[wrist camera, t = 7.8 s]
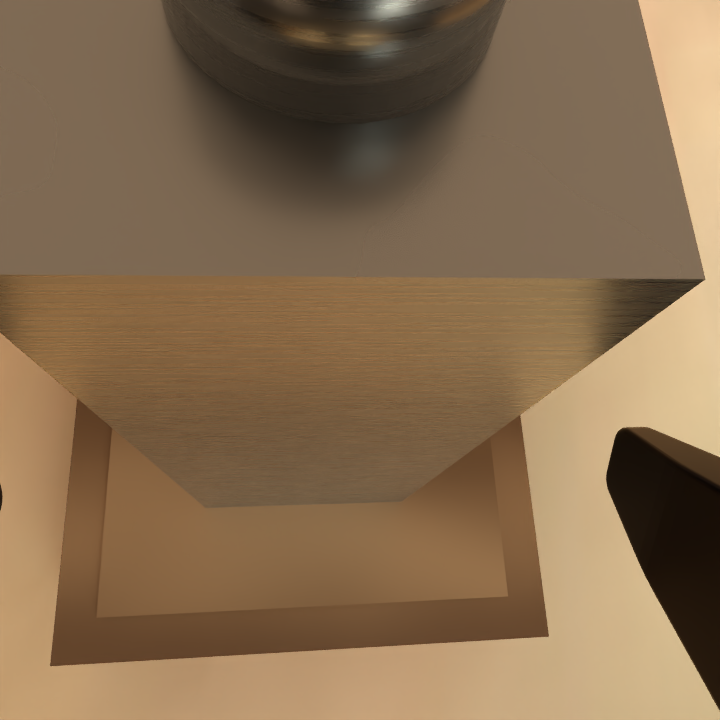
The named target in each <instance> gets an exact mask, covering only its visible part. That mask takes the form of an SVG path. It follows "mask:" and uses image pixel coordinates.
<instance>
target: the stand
mask: <svg viewBox="0 0 720 720" xmlns="http://www.w3.org/2000/svg"><path fill="white" fill-rule="evenodd" d="M548 636H549V634H548V627H547V619H546V611H545V604H544V596H543V588H542V580H541V573H540V565H539V557H538V550H537V542H536V534H535V526H534V519H533V511H532V503H531V496H530V488H529V480H528V472H527V465H526V457H525V449H524V442H523V434H522V426H521V418H520V415H519V416H518V417H516V418H515V419H514V420H512V421H511V422H510V423H508V424H507V425H506V426H504V427H503V428H501V429H500V430H499V431H497V432H496V433H495V434H493V435H492V436H490V437H489V438H488V439H486V440H485V441H484V442H482V443H481V444H480V445H478V446H477V447H475V448H474V449H473V450H471V451H470V452H469V453H467V454H466V455H465V456H463V457H462V458H460V459H459V460H458V461H456V462H455V463H454V464H452V465H451V466H450V467H448V468H447V469H445V470H444V471H443V472H441V473H440V474H439V475H437V476H436V477H435V478H433V479H432V480H430V481H429V482H428V483H426V484H425V485H424V486H422V487H421V488H419V489H418V490H417V491H415V492H414V493H413V494H411V495H410V496H409V497H407V498H406V499H404V500H403V501H402V502H376V503H345V504H314V505H283V506H252V507H220V508H205V507H204V506H203V505H201V504H200V503H199V502H198V501H197V500H196V499H194V498H193V497H192V496H191V495H190V494H189V493H187V492H186V491H185V490H184V489H183V488H182V487H180V486H179V485H178V484H177V483H176V482H175V481H173V480H172V479H171V478H170V477H169V476H168V475H166V474H165V473H164V472H163V471H162V470H161V469H159V468H158V467H157V466H156V465H155V464H154V463H152V462H151V461H150V460H149V459H148V458H147V457H145V456H144V455H143V454H142V453H141V452H140V451H138V450H137V449H136V448H135V447H134V446H132V445H131V444H130V443H129V442H128V441H127V440H125V439H124V438H123V437H122V436H121V435H120V434H118V433H117V432H116V431H115V430H114V429H113V428H111V427H110V426H109V425H108V424H107V423H106V422H104V421H103V420H102V419H101V418H100V417H99V416H97V415H96V414H95V413H94V412H93V411H92V410H90V409H89V408H88V407H87V406H86V405H85V404H83V403H82V402H81V401H80V400H79V399H77V408H76V418H75V428H74V438H73V448H72V457H71V467H70V477H69V487H68V497H67V506H66V516H65V526H64V536H63V546H62V555H61V565H60V575H59V585H58V595H57V605H56V614H55V624H54V634H53V644H52V654H51V663H50V666H61V665H77V664H94V663H111V662H128V661H145V660H161V659H178V658H195V657H212V656H229V655H246V654H262V653H279V652H296V651H313V650H330V649H346V648H363V647H380V646H397V645H414V644H431V643H447V642H464V641H481V640H498V639H515V638H531V637H548Z"/></svg>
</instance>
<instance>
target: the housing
mask: <svg viewBox="0 0 720 720" xmlns="http://www.w3.org/2000/svg"><path fill="white" fill-rule="evenodd" d="M704 280H705V276H704V272H703V268H702V263H701V259H700V255H699V251H698V247H697V243H696V239H695V234H694V230H693V226H692V222H691V218H690V214H689V210H688V205H687V201H686V197H685V193H684V189H683V185H682V180H681V176H680V172H679V168H678V164H677V160H676V156H675V151H674V147H673V143H672V139H671V135H670V131H669V127H668V122H667V118H666V114H665V110H664V106H663V102H662V97H661V93H660V89H659V85H658V81H657V77H656V73H655V68H654V64H653V60H652V56H651V52H650V48H649V44H648V39H647V35H646V31H645V27H644V23H643V19H642V14H641V10H640V6H639V2H638V0H0V333H1V334H3V335H4V336H5V337H6V338H7V339H9V340H10V341H11V342H12V343H13V344H14V345H16V346H17V347H18V348H19V349H20V350H21V351H23V352H24V353H25V354H26V355H27V356H28V357H30V358H31V359H32V360H33V361H34V362H35V363H37V364H38V365H39V366H40V367H41V368H42V369H44V370H45V371H46V372H47V373H48V374H49V375H51V376H52V377H53V378H54V379H55V380H56V381H58V382H59V383H60V384H61V385H62V386H63V387H65V388H66V389H67V390H68V391H69V392H70V393H72V394H73V395H74V396H75V397H76V398H78V399H79V400H80V401H81V402H82V403H83V404H85V405H86V406H87V407H88V408H89V409H90V410H92V411H93V412H94V413H95V414H96V415H97V416H99V417H100V418H101V419H102V420H103V421H104V422H106V423H107V424H108V425H109V426H110V427H111V428H113V429H114V430H115V431H116V432H117V433H118V434H120V435H121V436H122V437H123V438H124V439H125V440H127V441H128V442H129V443H130V444H131V445H132V446H134V447H135V448H136V449H137V450H138V451H140V452H141V453H142V454H143V455H144V456H145V457H147V458H148V459H149V460H150V461H151V462H152V463H154V464H155V465H156V466H157V467H158V468H159V469H161V470H162V471H163V472H164V473H165V474H166V475H168V476H169V477H170V478H171V479H172V480H173V481H175V482H176V483H177V484H178V485H179V486H180V487H182V488H183V489H184V490H185V491H186V492H187V493H189V494H190V495H191V496H192V497H193V498H194V499H196V500H197V501H198V502H199V503H200V504H201V505H203V506H204V507H205V508H220V507H252V506H283V505H314V504H345V503H376V502H402V501H403V500H404V499H406V498H407V497H409V496H410V495H411V494H413V493H414V492H415V491H417V490H418V489H419V488H421V487H422V486H424V485H425V484H426V483H428V482H429V481H430V480H432V479H433V478H435V477H436V476H437V475H439V474H440V473H441V472H443V471H444V470H445V469H447V468H448V467H450V466H451V465H452V464H454V463H455V462H456V461H458V460H459V459H460V458H462V457H463V456H465V455H466V454H467V453H469V452H470V451H471V450H473V449H474V448H475V447H477V446H478V445H480V444H481V443H482V442H484V441H485V440H486V439H488V438H489V437H490V436H492V435H493V434H495V433H496V432H497V431H499V430H500V429H501V428H503V427H504V426H506V425H507V424H508V423H510V422H511V421H512V420H514V419H515V418H516V417H518V416H519V415H521V414H522V413H523V412H525V411H526V410H527V409H529V408H530V407H531V406H533V405H534V404H536V403H537V402H538V401H540V400H541V399H542V398H544V397H545V396H546V395H548V394H549V393H551V392H552V391H553V390H555V389H556V388H557V387H559V386H560V385H561V384H563V383H564V382H566V381H567V380H568V379H570V378H571V377H572V376H574V375H575V374H577V373H578V372H579V371H581V370H582V369H583V368H585V367H586V366H587V365H589V364H590V363H592V362H593V361H594V360H596V359H597V358H598V357H600V356H601V355H602V354H604V353H605V352H607V351H608V350H609V349H611V348H612V347H613V346H615V345H616V344H617V343H619V342H620V341H622V340H623V339H624V338H626V337H627V336H628V335H630V334H631V333H633V332H634V331H635V330H637V329H638V328H639V327H641V326H642V325H643V324H645V323H646V322H648V321H649V320H650V319H652V318H653V317H654V316H656V315H657V314H658V313H660V312H661V311H663V310H664V309H665V308H667V307H668V306H669V305H671V304H672V303H673V302H675V301H676V300H678V299H679V298H680V297H682V296H683V295H684V294H686V293H687V292H688V291H690V290H691V289H693V288H694V287H695V286H697V285H698V284H699V283H701V282H702V281H704Z"/></svg>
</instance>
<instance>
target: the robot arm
mask: <svg viewBox="0 0 720 720" xmlns="http://www.w3.org/2000/svg"><path fill="white" fill-rule="evenodd" d="M606 481H607V487H608V490H609V493H610V495H611V498H612V500H613V502H614V505H615V507H616V510H617V512H618V514H619V517H620V519H621V521H622V524H623V526H624V528H625V531H626V533H627V536H628V538H629V540H630V543H631V545H632V547H633V550H634V552H635V554H636V557H637V559H638V561H639V564H640V566H641V568H642V570H643V572H644V574H645V576H646V578H647V580H648V582H649V584H650V586H651V588H652V590H653V592H654V593H655V595H656V597H657V599H658V601H659V602H660V604H661V606H662V608H663V610H664V611H665V613H666V615H667V617H668V619H669V620H670V622H671V624H672V626H673V628H674V629H675V631H676V633H677V635H678V637H679V638H680V640H681V642H682V644H683V646H684V647H685V649H686V651H687V653H688V655H689V656H690V658H691V660H692V662H693V664H694V665H695V667H696V669H697V671H698V673H699V674H700V676H701V678H702V680H703V682H704V683H705V685H706V687H707V689H708V691H709V692H710V694H711V696H712V698H713V700H714V701H715V703H716V705H717V707H718V709H719V710H720V457H718V456H715V455H713V454H711V453H708V452H706V451H703V450H701V449H699V448H696V447H694V446H692V445H689V444H687V443H684V442H682V441H680V440H677V439H675V438H672V437H670V436H668V435H665V434H663V433H660V432H658V431H656V430H653V429H651V428H648V427H626V428H622V429H621V430H619V431H618V432H617V434H616V437H615V440H614V444H613V448H612V452H611V457H610V461H609V465H608V469H607V475H606ZM1 506H2V489H1V485H0V510H1Z"/></svg>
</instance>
